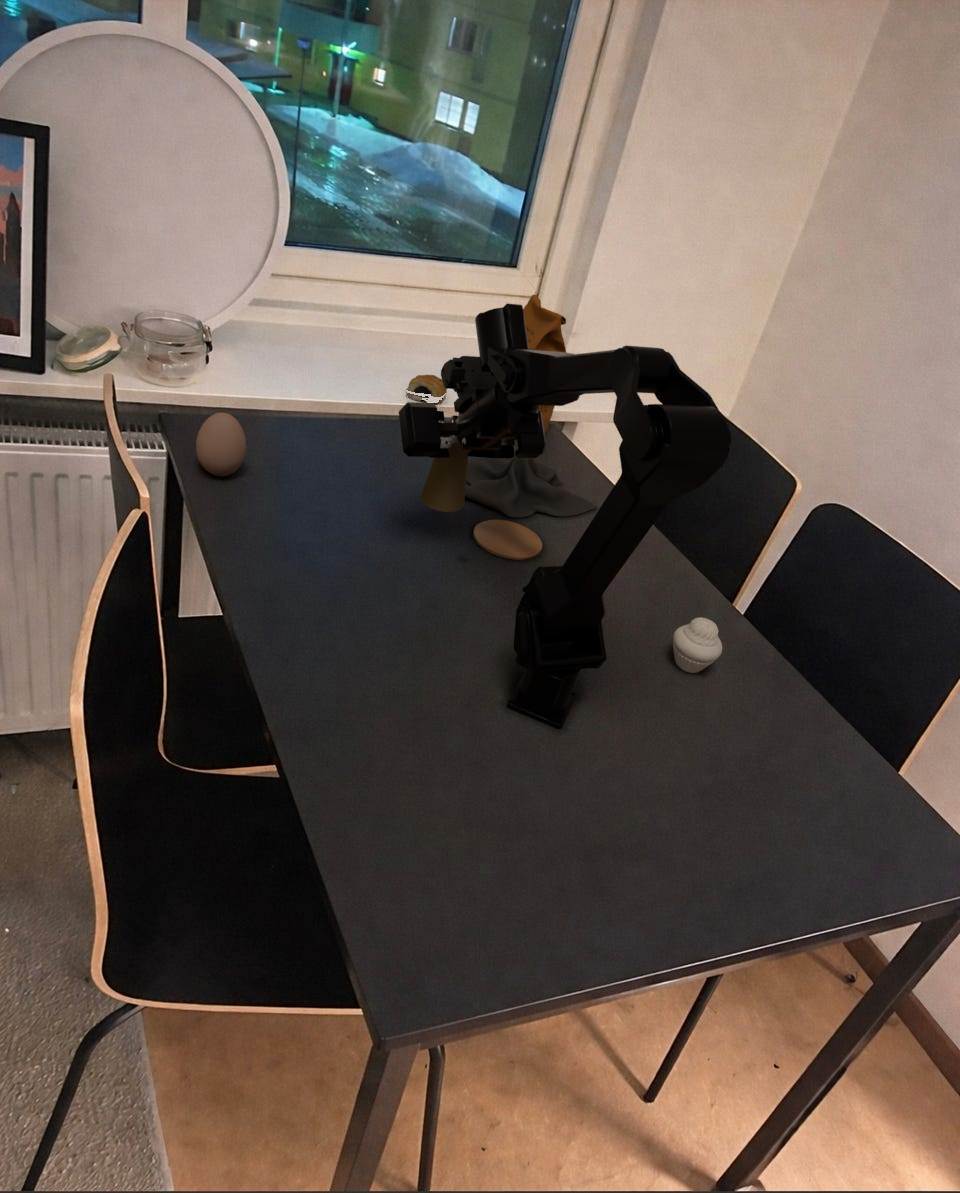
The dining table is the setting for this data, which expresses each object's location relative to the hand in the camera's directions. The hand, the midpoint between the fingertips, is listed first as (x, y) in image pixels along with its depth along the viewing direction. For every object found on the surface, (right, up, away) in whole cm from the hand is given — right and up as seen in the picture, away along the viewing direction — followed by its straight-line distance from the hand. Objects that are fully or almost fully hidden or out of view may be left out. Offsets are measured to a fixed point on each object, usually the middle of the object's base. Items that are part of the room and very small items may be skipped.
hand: (448, 452), depth 120 cm
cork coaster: (+8, -11, +9) cm, 16 cm away
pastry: (-6, +18, +47) cm, 50 cm away
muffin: (+30, -28, -7) cm, 41 cm away
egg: (-32, -2, +7) cm, 33 cm away
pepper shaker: (-1, -6, +3) cm, 7 cm away
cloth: (+11, -3, +23) cm, 26 cm away
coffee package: (+10, +12, +45) cm, 48 cm away
